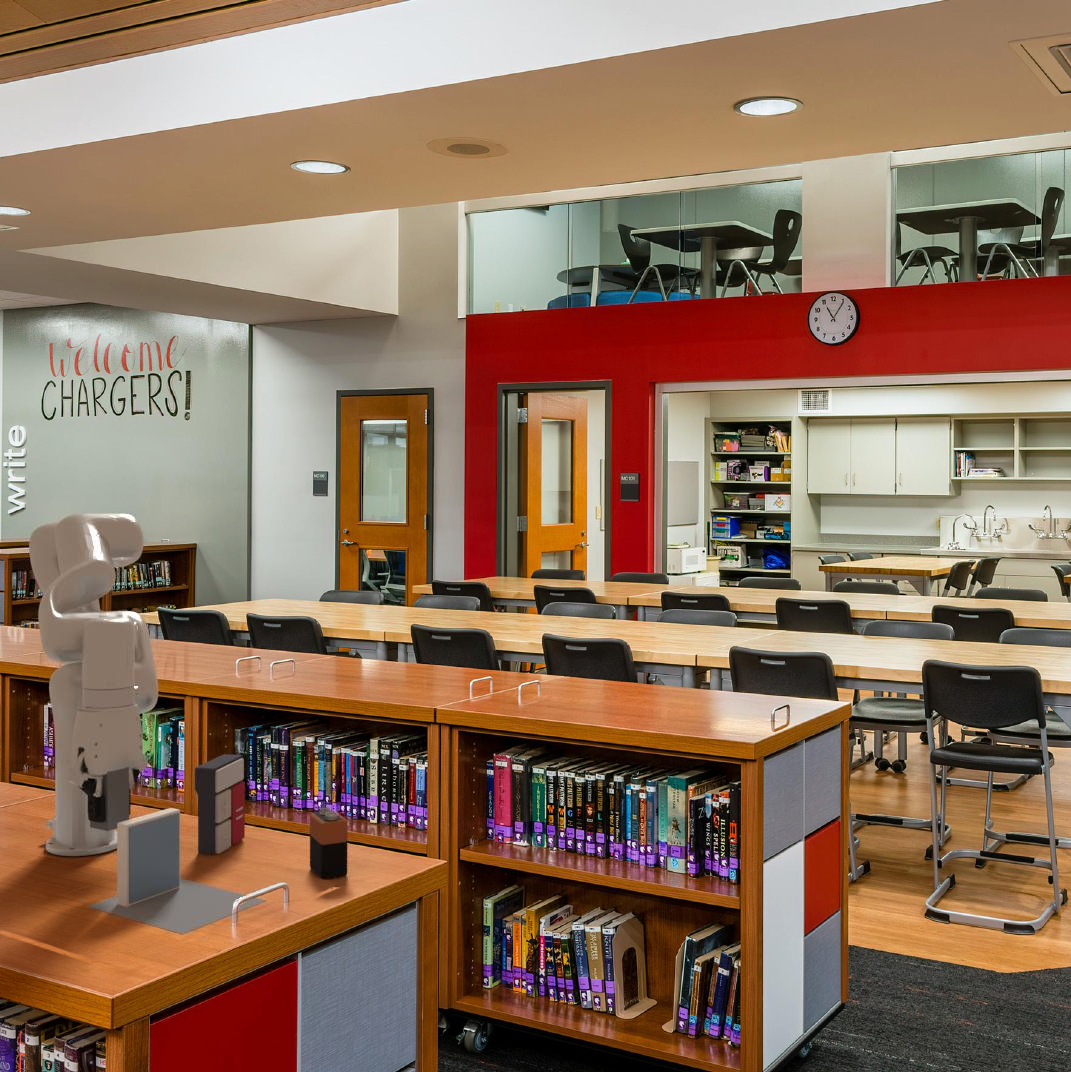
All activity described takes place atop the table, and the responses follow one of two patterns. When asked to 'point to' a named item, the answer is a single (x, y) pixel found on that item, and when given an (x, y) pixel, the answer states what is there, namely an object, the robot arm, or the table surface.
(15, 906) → the table surface
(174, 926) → the mat
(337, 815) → the battery
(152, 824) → the tile
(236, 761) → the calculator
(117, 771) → the block
